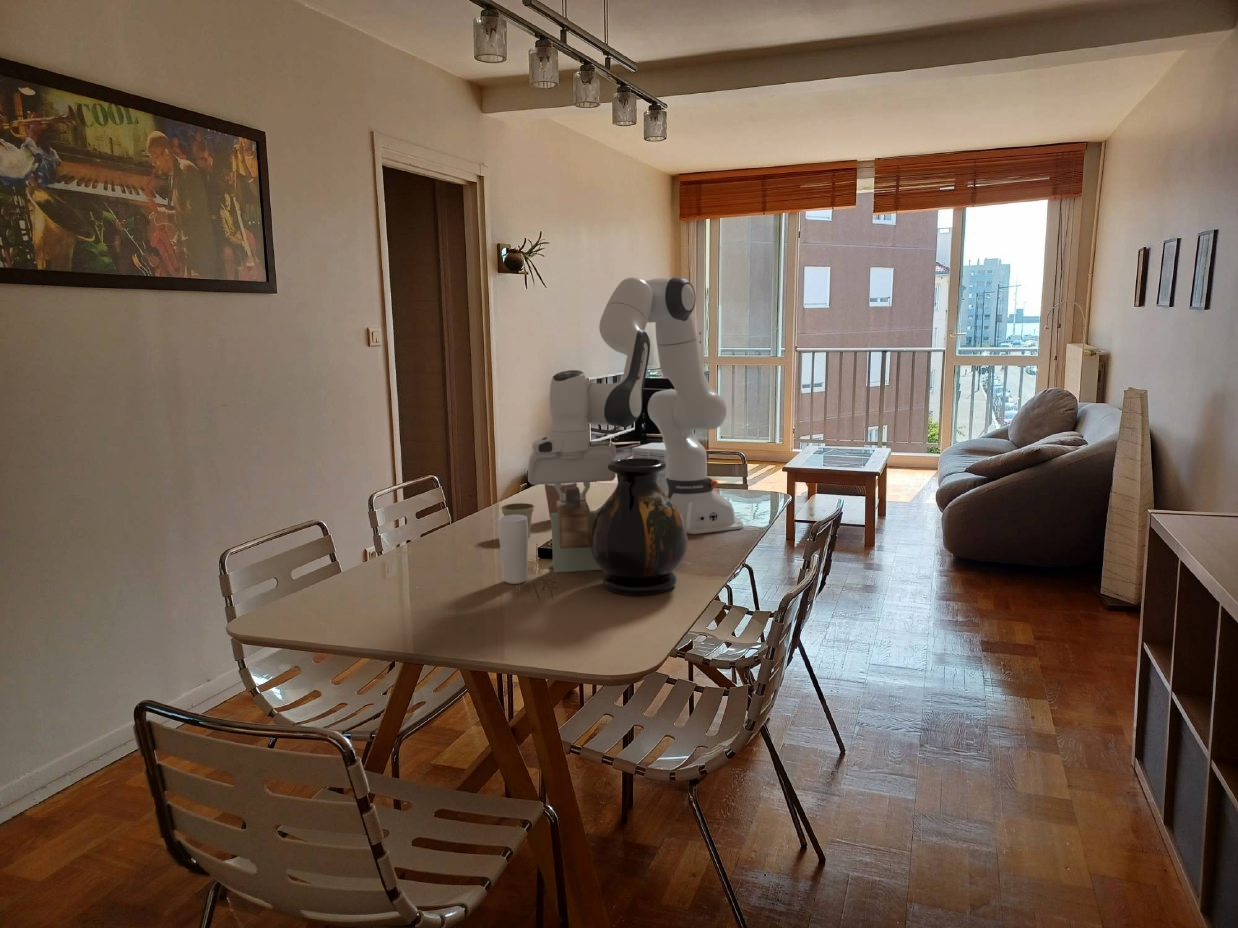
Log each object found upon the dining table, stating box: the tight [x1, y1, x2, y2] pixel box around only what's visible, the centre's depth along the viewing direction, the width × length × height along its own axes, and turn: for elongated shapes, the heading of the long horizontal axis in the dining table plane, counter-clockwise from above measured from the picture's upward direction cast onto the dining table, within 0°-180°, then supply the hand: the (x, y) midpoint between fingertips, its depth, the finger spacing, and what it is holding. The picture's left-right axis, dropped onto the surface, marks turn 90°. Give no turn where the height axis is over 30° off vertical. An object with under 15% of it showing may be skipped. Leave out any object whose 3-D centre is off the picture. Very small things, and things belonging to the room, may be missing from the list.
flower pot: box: [500, 502, 536, 538], centre depth 237 cm, size 9×9×9 cm
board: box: [550, 510, 602, 573], centre depth 206 cm, size 16×6×14 cm, turn 97°
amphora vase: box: [591, 458, 689, 596], centre depth 188 cm, size 22×22×28 cm
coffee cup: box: [544, 483, 578, 520], centre depth 255 cm, size 10×10×12 cm
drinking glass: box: [497, 515, 529, 585], centre depth 196 cm, size 7×7×15 cm
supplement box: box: [631, 442, 668, 496], centre depth 283 cm, size 13×13×18 cm
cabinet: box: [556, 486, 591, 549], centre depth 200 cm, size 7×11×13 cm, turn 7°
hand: (572, 501), depth 198 cm, fingers closed on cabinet, 3 cm apart
